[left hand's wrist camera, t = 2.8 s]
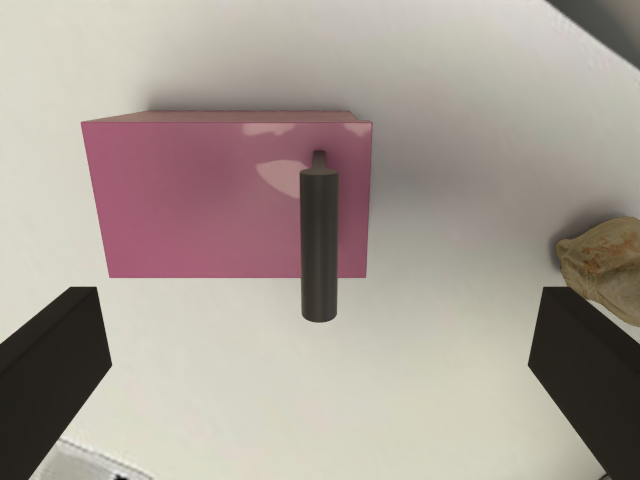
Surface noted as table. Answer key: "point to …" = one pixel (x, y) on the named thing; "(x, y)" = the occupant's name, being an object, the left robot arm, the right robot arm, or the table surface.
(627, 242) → the sculpture
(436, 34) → the table surface
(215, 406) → the table surface
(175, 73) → the table surface
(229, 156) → the lid
